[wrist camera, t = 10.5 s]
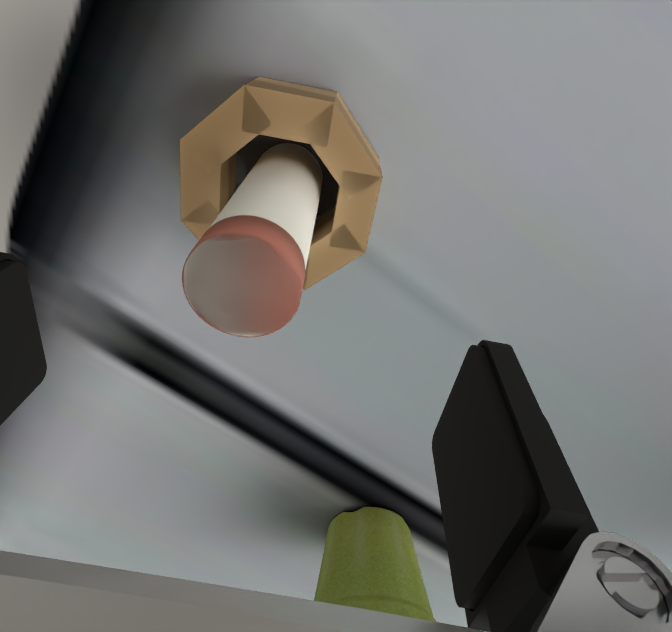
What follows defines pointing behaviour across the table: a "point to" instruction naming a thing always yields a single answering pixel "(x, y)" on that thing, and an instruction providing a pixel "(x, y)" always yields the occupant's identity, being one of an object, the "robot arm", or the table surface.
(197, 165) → the bead
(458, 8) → the table surface
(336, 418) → the table surface
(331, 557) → the plant pot
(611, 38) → the table surface
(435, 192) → the table surface
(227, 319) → the pink-tipped cream rod
